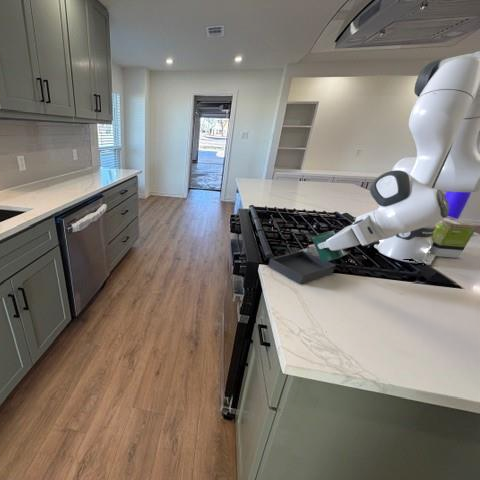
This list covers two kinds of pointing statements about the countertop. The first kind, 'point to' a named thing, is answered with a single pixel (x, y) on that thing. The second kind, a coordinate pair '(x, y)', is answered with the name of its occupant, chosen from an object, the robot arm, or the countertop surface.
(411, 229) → the robot arm
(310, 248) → the packaged product
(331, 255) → the enamel cup
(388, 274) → the countertop surface
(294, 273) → the baking tray
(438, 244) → the tea box
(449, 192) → the bottle
